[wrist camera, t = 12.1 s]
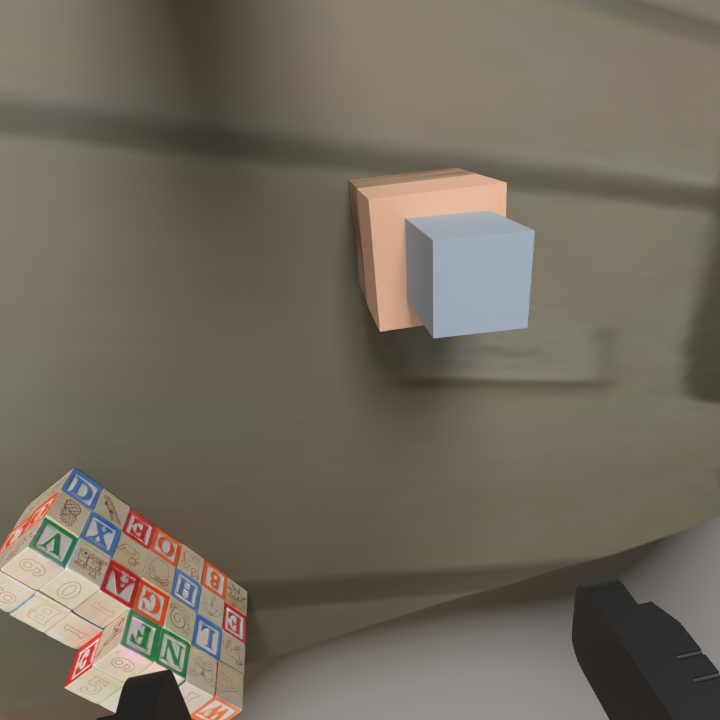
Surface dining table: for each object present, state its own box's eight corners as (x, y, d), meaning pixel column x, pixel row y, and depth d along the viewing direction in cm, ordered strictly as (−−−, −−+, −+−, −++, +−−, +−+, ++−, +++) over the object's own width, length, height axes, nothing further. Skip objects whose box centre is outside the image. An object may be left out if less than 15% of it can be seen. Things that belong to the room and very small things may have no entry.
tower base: (348, 180, 39) (358, 188, 34) (455, 167, 39) (478, 173, 35) (359, 285, 42) (369, 305, 37) (457, 272, 43) (478, 290, 38)
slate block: (405, 218, 30) (432, 240, 25) (489, 210, 31) (534, 230, 25) (407, 301, 32) (433, 338, 27) (486, 293, 33) (527, 327, 28)
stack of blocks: (24, 506, 46) (-56, 630, 35) (74, 464, 45) (9, 578, 34) (204, 624, 55) (186, 753, 44) (250, 591, 54) (243, 714, 43)
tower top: (356, 188, 34) (368, 199, 30) (476, 174, 35) (506, 182, 30) (367, 305, 37) (379, 331, 33) (476, 290, 38) (503, 313, 34)
